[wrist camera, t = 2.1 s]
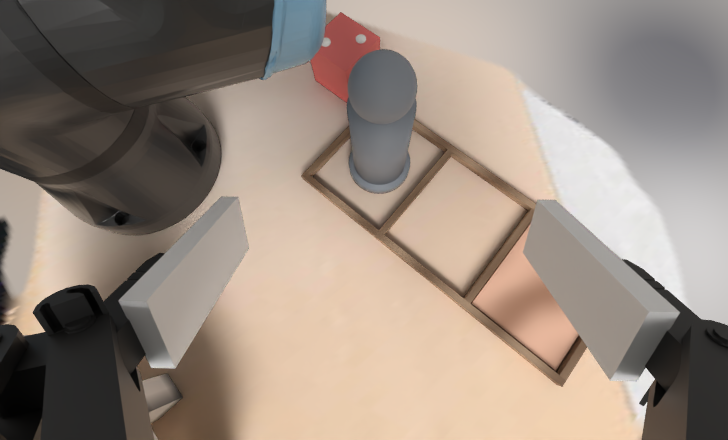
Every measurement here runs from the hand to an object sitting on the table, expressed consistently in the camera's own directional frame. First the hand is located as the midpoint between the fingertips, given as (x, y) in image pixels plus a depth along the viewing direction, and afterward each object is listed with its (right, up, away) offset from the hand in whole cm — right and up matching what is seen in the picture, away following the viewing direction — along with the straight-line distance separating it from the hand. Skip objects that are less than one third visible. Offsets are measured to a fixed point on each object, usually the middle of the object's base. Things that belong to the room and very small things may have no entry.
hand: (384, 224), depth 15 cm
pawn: (+1, +6, +18) cm, 19 cm away
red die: (-3, +16, +21) cm, 27 cm away
